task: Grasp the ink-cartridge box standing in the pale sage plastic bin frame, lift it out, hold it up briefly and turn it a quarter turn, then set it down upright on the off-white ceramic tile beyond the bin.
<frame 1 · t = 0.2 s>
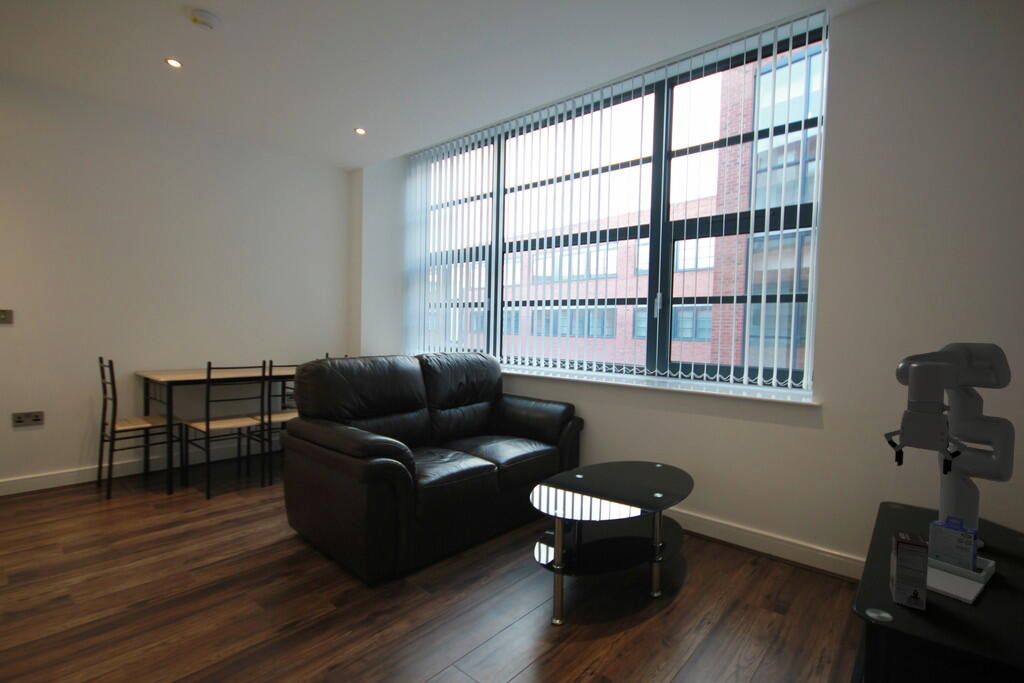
hand: (922, 469, 131), 31 cm above the tv stand, tool pointing down, fingers open, 9 cm apart
coffee box: (906, 599, 121), on the tv stand
tile: (942, 583, 129), on the tv stand
ink cartridge box: (951, 568, 139), resting in bin frame
bin frame: (951, 567, 139), on the tv stand
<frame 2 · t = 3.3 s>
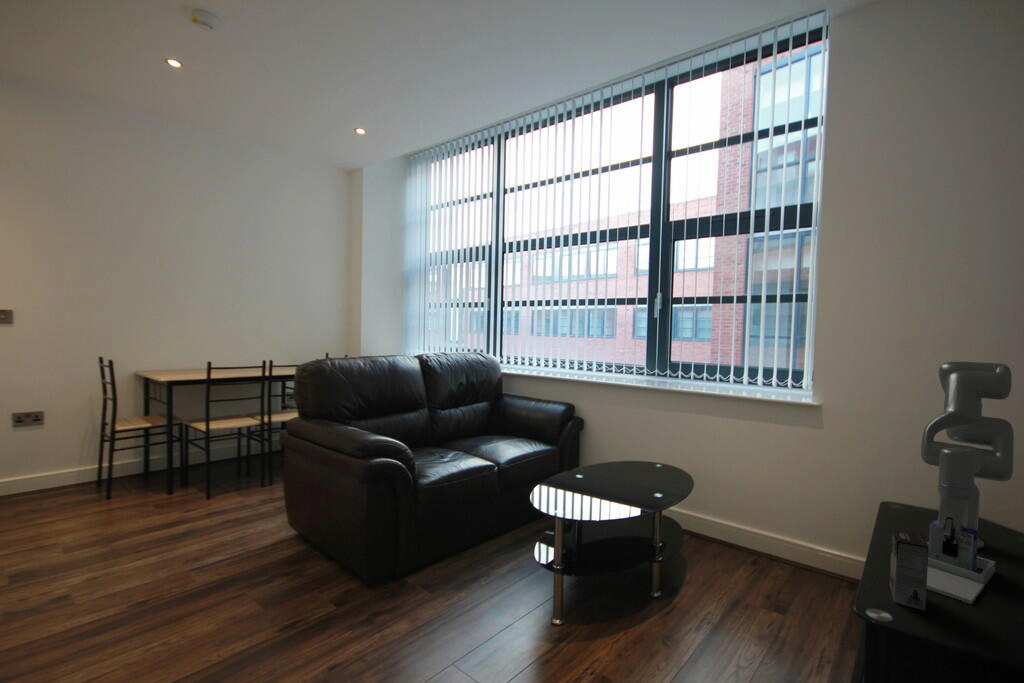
hand: (952, 552, 139), 5 cm above the tv stand, tool pointing down, fingers closed on ink cartridge box, 5 cm apart
ink cartridge box: (951, 568, 139), resting in bin frame, touching gripper
everything else where it was.
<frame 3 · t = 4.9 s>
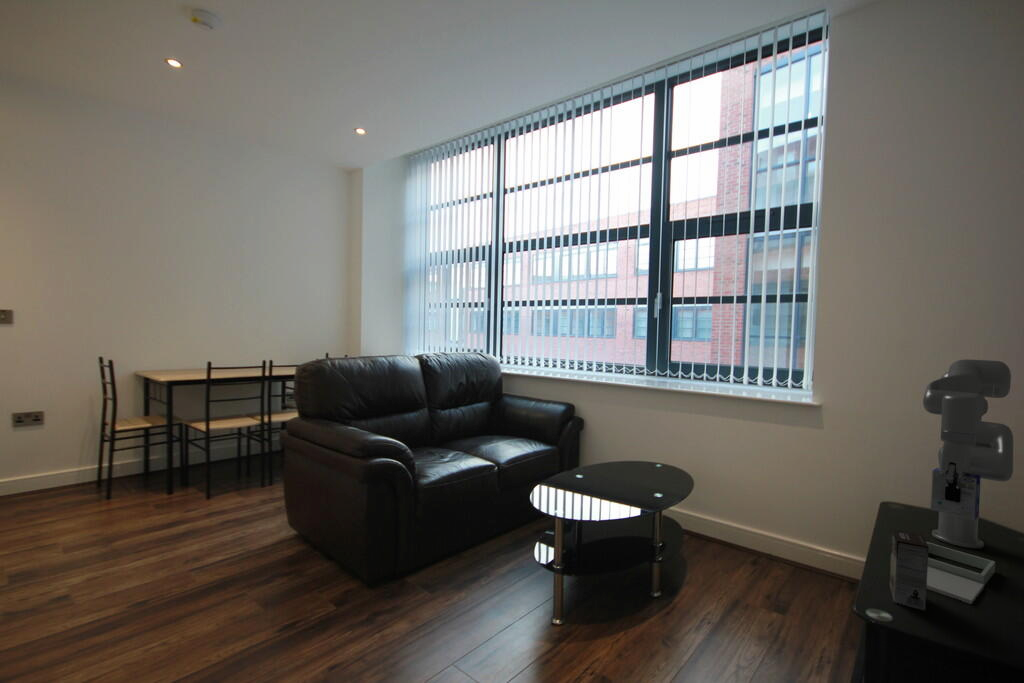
hand: (955, 498, 139), 20 cm above the tv stand, tool pointing down, fingers closed on ink cartridge box, 5 cm apart
ink cartridge box: (954, 514, 139), point 16 cm above the tv stand, touching gripper
everything else where it was.
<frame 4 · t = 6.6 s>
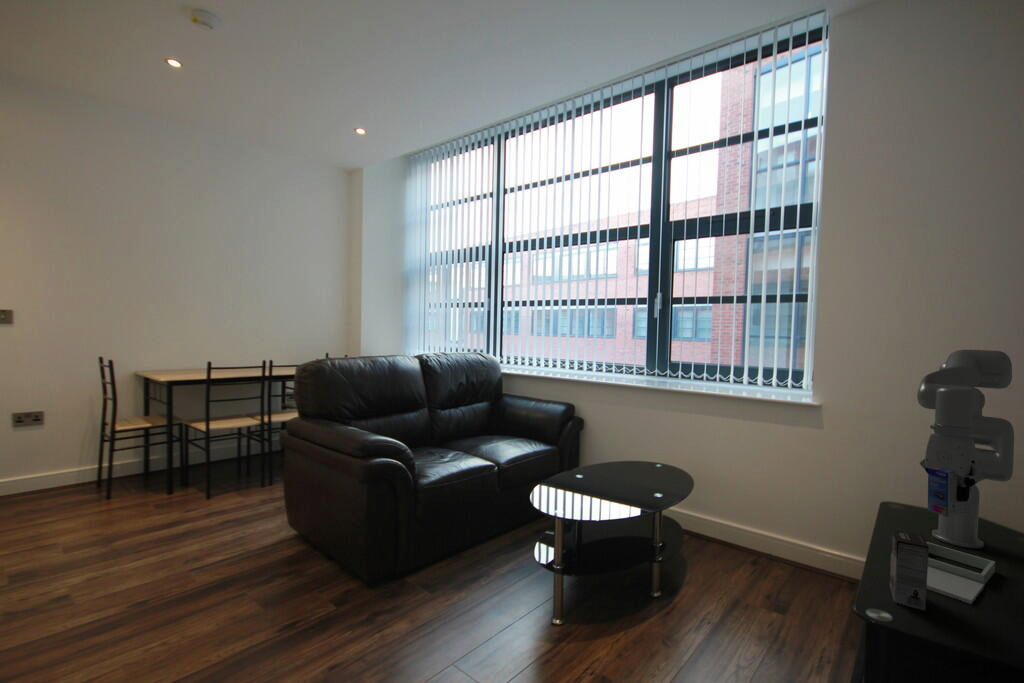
hand: (949, 496, 132), 23 cm above the tv stand, tool pointing down, fingers closed on ink cartridge box, 5 cm apart
ink cartridge box: (948, 513, 132), point 18 cm above the tv stand, touching gripper
everything else where it was.
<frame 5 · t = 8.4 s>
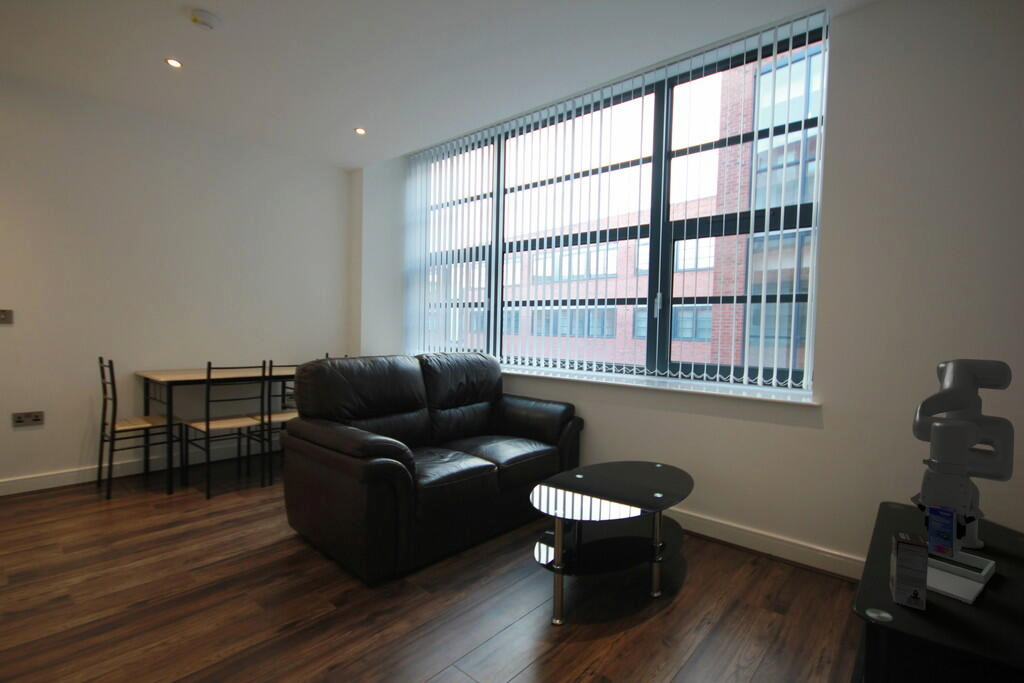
hand: (944, 533, 129), 14 cm above the tv stand, tool pointing down, fingers closed on ink cartridge box, 5 cm apart
ink cartridge box: (943, 550, 129), point 9 cm above the tv stand, touching gripper
everything else where it was.
when the fingers open (7 cm above the tv stand, at t = 10.1 s): ink cartridge box drops 1 cm, resting on tile.
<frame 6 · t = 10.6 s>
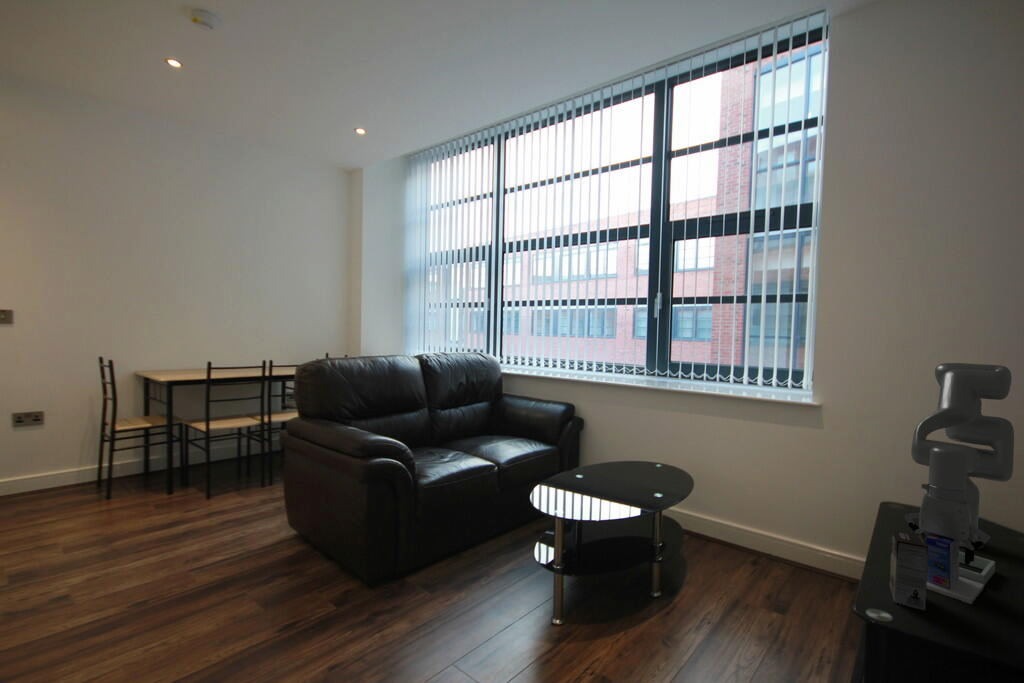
hand: (943, 555, 129), 8 cm above the tv stand, tool pointing down, fingers open, 9 cm apart
ink cartridge box: (941, 580, 130), point 1 cm above the tv stand, touching tile
everything else where it was.
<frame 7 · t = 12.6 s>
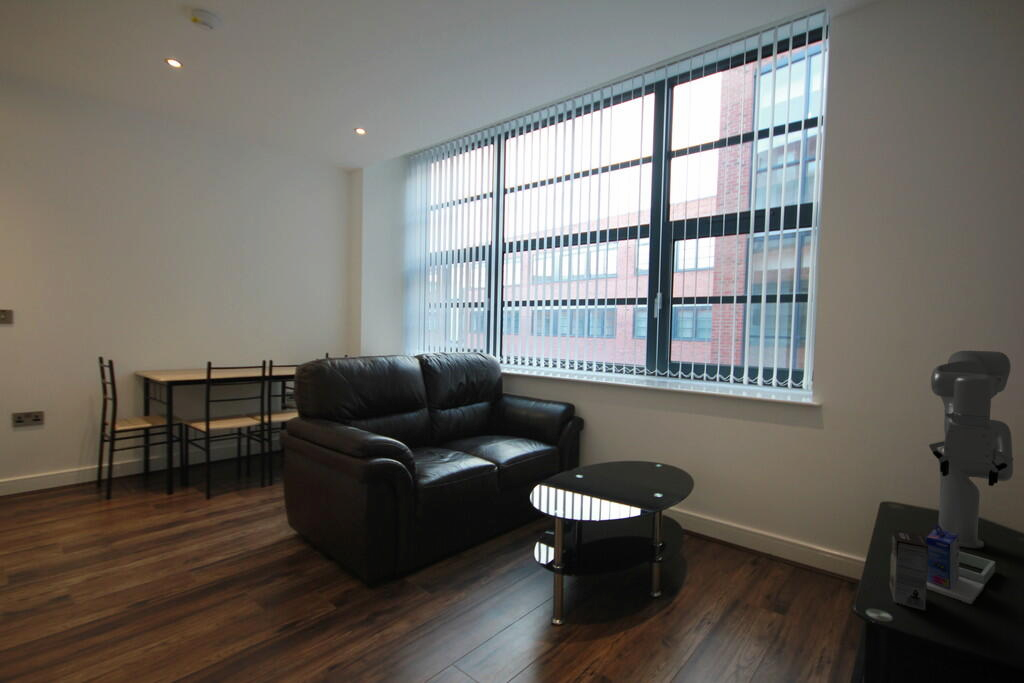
hand: (967, 479, 135), 27 cm above the tv stand, tool pointing down, fingers open, 9 cm apart
nothing on the tv stand moved.
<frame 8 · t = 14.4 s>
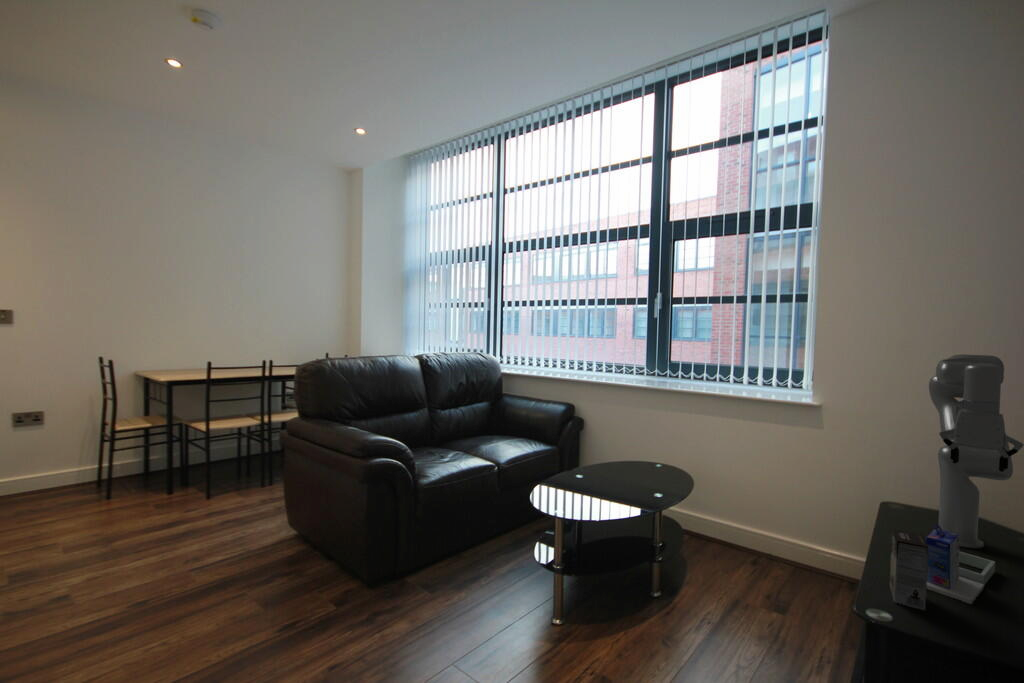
hand: (978, 466, 137), 30 cm above the tv stand, tool pointing down, fingers open, 9 cm apart
nothing on the tv stand moved.
at the end: ink cartridge box inside the target area on the tile (0.4 cm from its centre), point 0.8 cm above the tile's base; ink cartridge box tilted 0°; the gripper is holding nothing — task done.
